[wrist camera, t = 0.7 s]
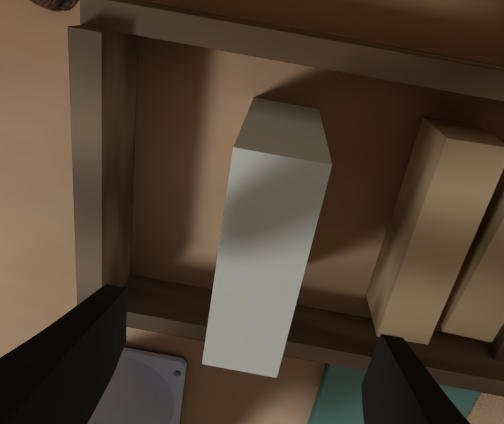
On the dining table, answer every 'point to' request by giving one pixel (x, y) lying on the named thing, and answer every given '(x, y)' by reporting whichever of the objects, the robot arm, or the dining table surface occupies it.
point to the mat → (350, 397)
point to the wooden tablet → (55, 4)
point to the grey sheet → (266, 235)
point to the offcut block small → (480, 279)
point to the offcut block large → (432, 226)
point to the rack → (122, 171)
